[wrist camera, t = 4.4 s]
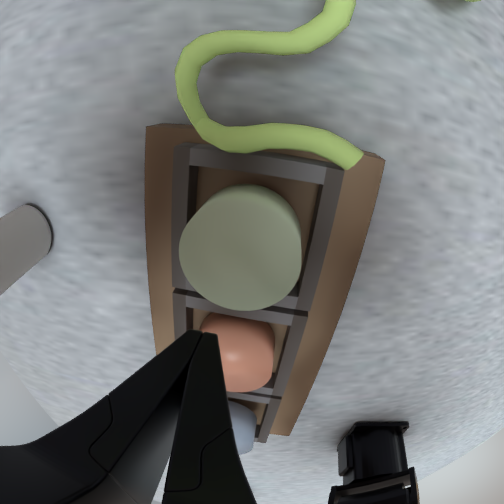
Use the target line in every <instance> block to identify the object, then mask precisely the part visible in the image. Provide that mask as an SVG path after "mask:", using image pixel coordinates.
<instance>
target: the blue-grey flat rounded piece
mask: <svg viewBox="0 0 504 504" xmlns="http://www.w3.org/2000/svg"><path fill="white" fill-rule="evenodd" d="M228 403H229V409H230V415H231V420H232V426H233V427H232V428H233V430H234V436H235V441H236V445H237V450H238V454H239V455H240V454H245V453H247V452H249V451H251V450H252V448H253V442H254V436H255V430H256V424H257V417H256V415H255V414H254V413H253V412H252V411H251V410H250V409H248V408H247V407H245V406H243V405H241V404H238V403H235V402H232V401H228Z"/></svg>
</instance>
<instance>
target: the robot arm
mask: <svg viewBox="0 0 504 504" xmlns="http://www.w3.org/2000/svg"><path fill="white" fill-rule="evenodd" d="M232 427H233V426H232V420H231V415H230V409H229V403H228V397H227V391H226V385H225V379H224V373H223V367H222V360H221V354H220V347H219V340H218V335H217V334H215V333H210V332H204V333H203V332H202V331H200V330H195V329H189V330H187V331H186V332H185V333H184V334H182V335H181V336H180V337H179V338H177V339H176V340H175V341H174V342H172V343H171V344H170V345H169V346H168V347H166V348H165V349H164V350H163V351H161V352H160V353H159V354H158V355H156V356H155V357H154V358H153V359H151V360H150V361H149V362H148V363H146V364H145V365H144V366H143V367H141V368H140V369H139V370H138V371H136V372H135V373H134V374H133V375H131V376H130V377H129V378H128V379H126V380H125V381H124V382H123V383H121V384H120V385H119V386H118V387H116V388H115V389H114V390H113V391H111V392H110V393H109V395H106V396H105V397H103V398H102V399H101V400H100V401H98V402H97V403H96V404H94V405H93V406H92V407H90V408H89V409H87V410H86V411H85V412H83V413H82V414H80V415H78V416H77V417H75V418H74V419H72V420H71V421H69V422H67V423H65V424H64V425H62V426H60V427H59V428H57V429H55V430H53V431H52V432H50V433H48V434H46V435H45V436H43V437H41V438H39V439H37V440H35V441H33V442H30V443H27V444H24V445H17V446H0V504H151V502H152V500H153V497H154V495H155V492H156V490H157V487H158V485H159V482H160V480H161V477H162V474H163V472H164V469H165V467H166V464H167V462H168V459H169V457H170V461H169V466H168V471H167V477H166V482H165V488H164V492H165V493H164V494H163V499H162V504H257V503H256V500H255V498H254V495H253V493H252V491H251V488H250V486H249V483H248V480H247V478H246V475H245V473H244V470H243V467H242V464H241V461H240V458H239V454H238V450H237V445H236V441H235V436H234V430H233V428H232ZM408 428H409V423H357V424H355V425H354V426H353V428H352V429H351V430H350V432H349V433H348V434H347V436H345V438H344V439H343V440H342V441H341V443H340V444H339V445H338V447H337V451H338V467H339V475H340V476H343V485H341V486H332V487H331V493H330V494H329V500H328V504H420V503H419V491H418V483H417V477H416V473H415V469H414V467H411V468H409V469H408V465H407V458H406V452H405V445H404V439H403V433H404V432H405V431H406V430H407V429H408ZM170 454H171V455H170ZM408 485H411V487H408V488H405V486H408Z"/></svg>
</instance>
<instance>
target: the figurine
mask: <svg viewBox="0 0 504 504" xmlns="http://www.w3.org/2000/svg"><path fill="white" fill-rule="evenodd" d="M465 1H470V2H476V1H481V0H465ZM355 5H356V0H326V2H325V5H324V8H323V11H322V12H321V13H320V14H319V15H317V16H316V17H315V18H313V19H312V20H311V21H310V22H308V23H307V24H305V25H302V26H300V27H298V28H296V29H294V30H292V31H290V32H266V31H247V30H222V31H217V32H213V33H209V34H205V35H201V36H199V37H198V38H196V39H195V40H194V41H192V42H191V43H190V44H188V45H187V46H186V47H184V48H183V50H182V53H181V55H180V58H179V60H178V63H177V65H176V68H175V80H176V88H177V96H178V99H179V101H180V103H181V105H182V107H183V109H184V111H185V113H186V115H187V117H188V118H189V120H190V122H191V123H192V125H193V126H194V128H195V129H196V130H197V132H198V133H199V135H200V136H201V138H202V139H203V140H205V141H207V142H209V143H211V144H212V145H214V146H216V147H218V148H219V149H221V150H224V151H226V152H229V153H251V152H255V151H260V150H265V149H292V150H299V151H306V152H312V153H314V154H317V155H319V156H321V157H323V158H326V159H328V160H330V161H332V162H333V163H335V164H336V165H338V166H340V167H341V168H343V169H345V170H348V169H350V168H351V167H353V166H354V165H355V164H356V163H357V162H358V161H359V160H360V159H361V158H362V156H363V154H364V153H363V152H362V151H361V150H359V149H358V148H357V147H355V146H354V145H352V144H351V143H350V142H348V141H347V140H345V139H343V138H341V137H339V136H337V135H335V134H333V133H331V132H329V131H327V130H324V129H320V128H315V127H310V126H305V125H296V124H284V123H266V124H259V125H252V126H236V127H225V126H223V125H221V124H219V123H217V122H215V121H213V120H211V119H209V117H208V116H207V114H206V112H205V110H204V108H203V107H202V105H201V103H200V100H199V95H198V90H197V85H196V82H197V79H198V76H199V73H200V70H201V66H203V65H204V64H205V63H207V62H208V61H210V60H211V59H213V58H214V57H216V56H217V55H222V54H228V53H235V52H245V53H261V54H272V55H282V56H284V55H294V54H306V53H311V52H312V51H314V50H316V49H317V48H319V47H321V46H323V45H325V44H326V43H328V42H330V41H332V40H333V39H334V38H335V37H336V36H337V35H338V34H339V33H341V32H342V31H343V30H344V29H345V28H346V27H347V26H349V23H350V20H351V17H352V14H353V11H354V8H355Z"/></svg>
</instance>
